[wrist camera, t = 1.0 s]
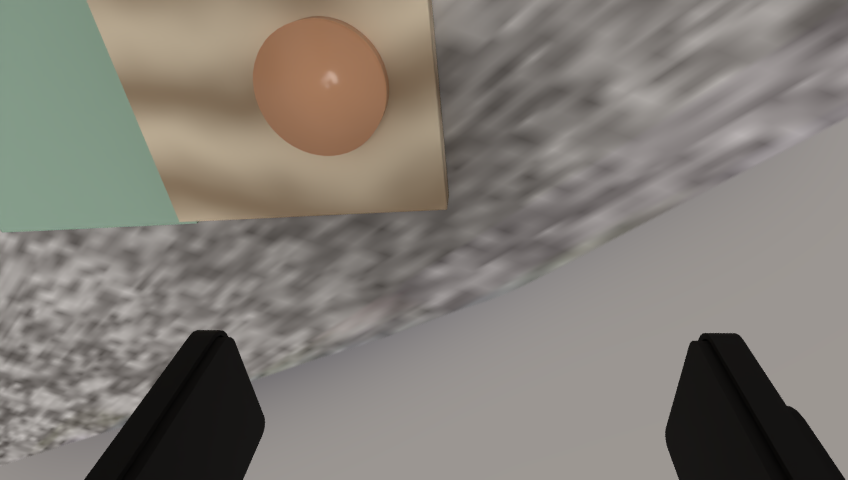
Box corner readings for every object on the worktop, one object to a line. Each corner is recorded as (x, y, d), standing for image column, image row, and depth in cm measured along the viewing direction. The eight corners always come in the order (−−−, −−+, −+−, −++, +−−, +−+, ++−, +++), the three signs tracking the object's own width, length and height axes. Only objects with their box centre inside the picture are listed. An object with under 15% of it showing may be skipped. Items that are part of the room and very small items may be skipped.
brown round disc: (247, 23, 25) (235, 27, 24) (377, 8, 24) (372, 12, 23) (282, 150, 29) (273, 159, 27) (397, 142, 28) (393, 151, 26)
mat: (-168, -42, 27) (-176, -42, 27) (81, -79, 25) (75, -80, 25) (6, 229, 37) (1, 232, 36) (199, 220, 34) (196, 223, 34)
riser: (89, -57, 26) (62, -58, 24) (422, -104, 23) (417, -108, 21) (194, 208, 34) (179, 222, 32) (448, 195, 31) (446, 209, 30)
